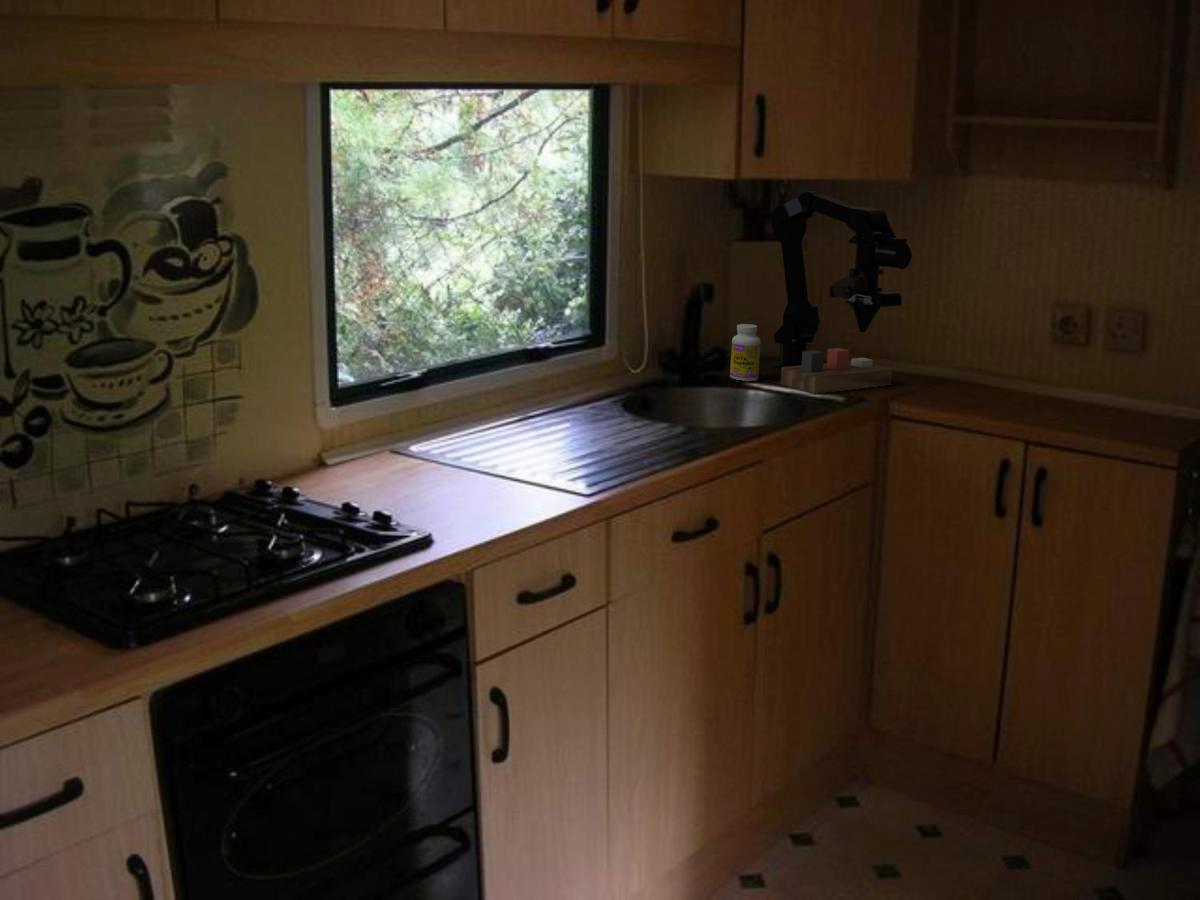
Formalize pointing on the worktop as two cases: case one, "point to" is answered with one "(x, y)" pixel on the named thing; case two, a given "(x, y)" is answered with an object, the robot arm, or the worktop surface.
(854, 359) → the plug white
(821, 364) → the gray rectangular block
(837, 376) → the block
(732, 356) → the supplement bottle
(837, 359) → the plug red
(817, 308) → the robot arm
